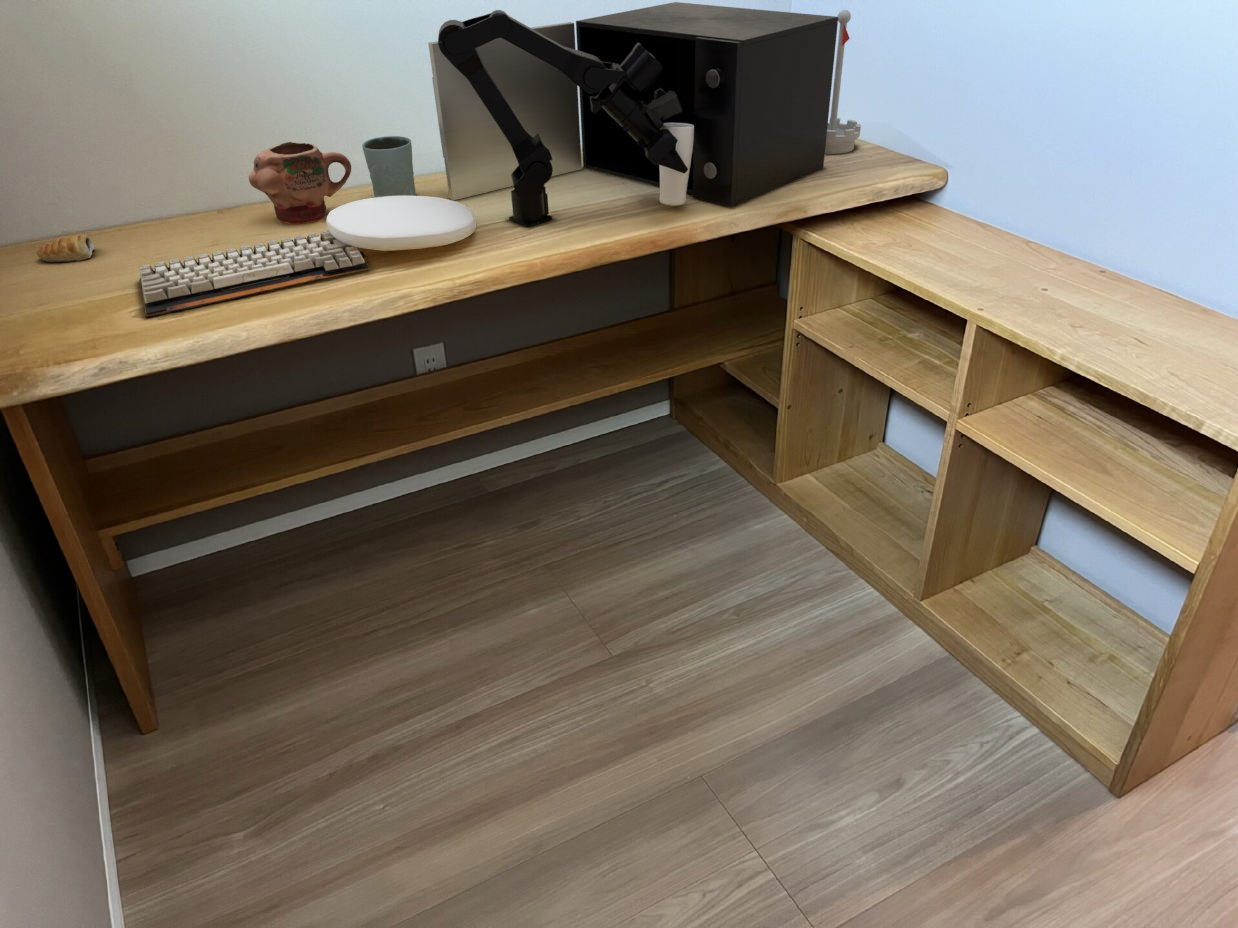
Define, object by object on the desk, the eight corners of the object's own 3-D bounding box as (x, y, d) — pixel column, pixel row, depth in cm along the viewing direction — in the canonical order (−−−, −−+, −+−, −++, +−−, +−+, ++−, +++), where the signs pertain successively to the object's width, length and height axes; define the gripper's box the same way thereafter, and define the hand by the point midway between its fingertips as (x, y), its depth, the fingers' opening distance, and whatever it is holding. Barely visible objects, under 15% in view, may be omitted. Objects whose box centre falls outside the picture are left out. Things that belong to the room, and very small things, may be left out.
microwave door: (437, 193, 195) (415, 39, 177) (564, 163, 211) (556, 19, 194) (453, 200, 190) (431, 43, 173) (581, 169, 206) (574, 23, 189)
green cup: (404, 189, 198) (395, 133, 191) (429, 199, 192) (420, 141, 185) (363, 200, 193) (352, 143, 186) (387, 210, 186) (377, 151, 180)
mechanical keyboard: (146, 318, 145) (139, 299, 143) (138, 280, 159) (132, 261, 157) (375, 271, 159) (371, 253, 157) (349, 240, 173) (345, 223, 171)
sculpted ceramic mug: (351, 199, 193) (338, 133, 185) (365, 215, 184) (352, 146, 176) (256, 216, 186) (238, 147, 178) (265, 233, 177) (247, 162, 169)
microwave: (728, 209, 181) (735, 42, 163) (575, 170, 206) (567, 22, 189) (823, 168, 202) (838, 17, 184) (674, 138, 227) (675, 2, 210)
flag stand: (796, 142, 220) (807, 7, 204) (848, 139, 221) (863, 4, 205) (811, 156, 210) (824, 15, 193) (865, 153, 211) (883, 12, 194)
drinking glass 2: (673, 198, 185) (677, 122, 178) (696, 204, 180) (701, 126, 173) (648, 202, 181) (652, 123, 174) (671, 208, 176) (676, 128, 169)
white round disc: (419, 183, 184) (505, 212, 170) (419, 215, 187) (504, 246, 173) (296, 196, 165) (381, 230, 150) (298, 231, 168) (382, 267, 154)
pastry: (36, 266, 165) (28, 247, 163) (44, 254, 171) (36, 235, 169) (92, 259, 168) (84, 239, 166) (97, 247, 173) (90, 228, 171)
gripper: (667, 88, 160) (723, 148, 167) (648, 68, 175) (700, 124, 183) (624, 136, 163) (681, 192, 171) (609, 112, 179) (662, 165, 186)
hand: (682, 166), depth 178 cm, fingers closed on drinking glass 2, 7 cm apart
